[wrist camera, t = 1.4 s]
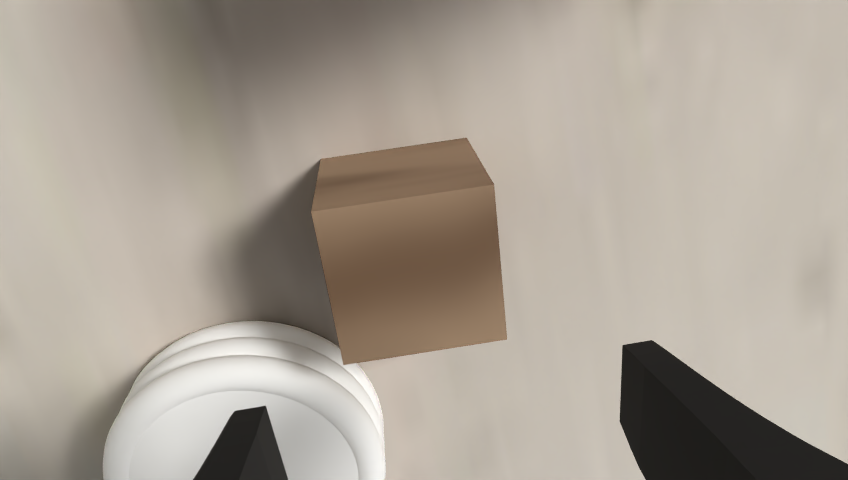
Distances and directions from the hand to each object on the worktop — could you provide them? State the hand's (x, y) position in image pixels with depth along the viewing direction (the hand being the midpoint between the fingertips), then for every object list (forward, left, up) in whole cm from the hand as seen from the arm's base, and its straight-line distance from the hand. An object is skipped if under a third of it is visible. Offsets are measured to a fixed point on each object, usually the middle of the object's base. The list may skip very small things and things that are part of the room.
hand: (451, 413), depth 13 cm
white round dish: (-8, +7, -11) cm, 16 cm away
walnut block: (0, 0, -11) cm, 11 cm away
